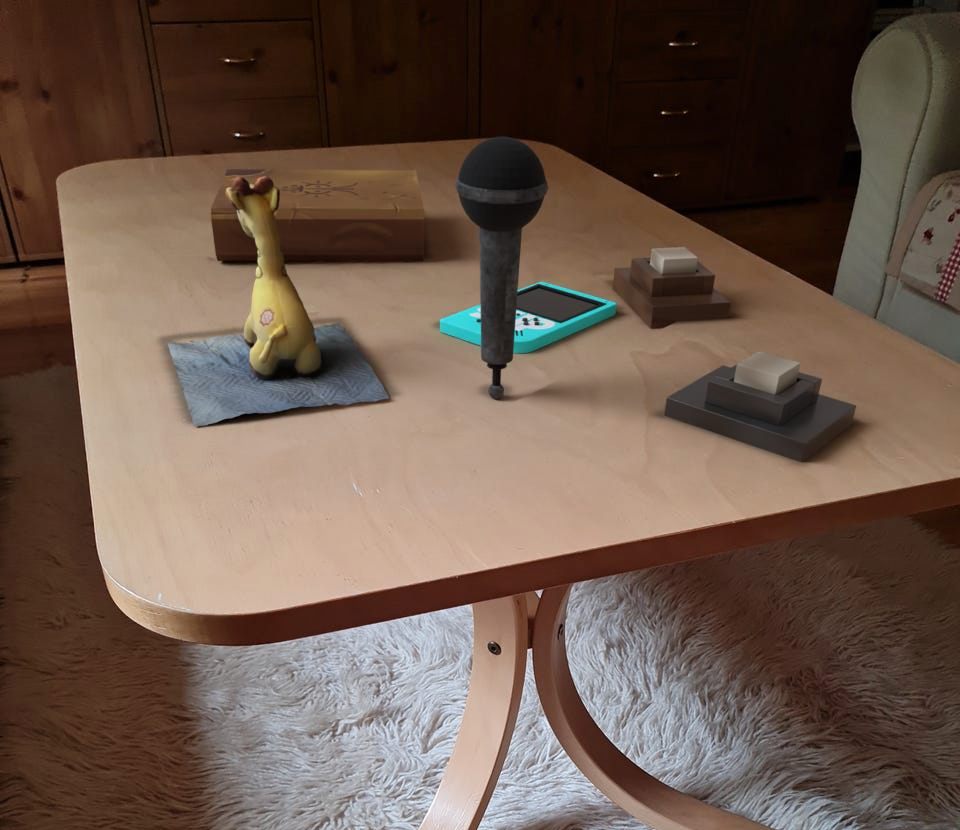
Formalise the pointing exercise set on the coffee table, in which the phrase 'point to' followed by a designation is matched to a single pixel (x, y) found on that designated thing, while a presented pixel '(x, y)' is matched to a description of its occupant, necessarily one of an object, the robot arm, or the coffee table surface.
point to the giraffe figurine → (271, 339)
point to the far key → (673, 260)
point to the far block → (669, 294)
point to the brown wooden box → (330, 216)
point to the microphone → (500, 235)
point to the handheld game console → (537, 316)
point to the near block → (762, 413)
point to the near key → (767, 372)
